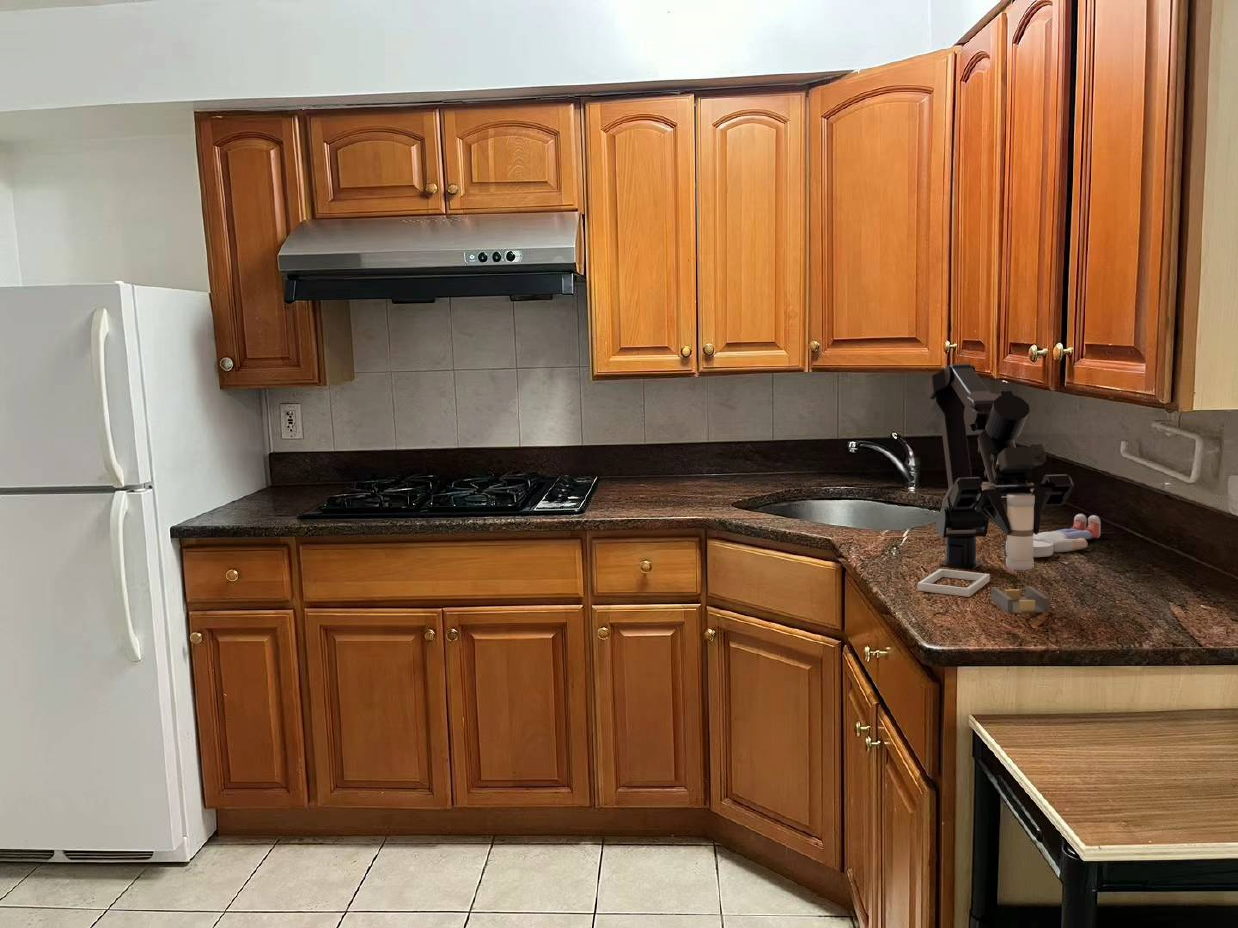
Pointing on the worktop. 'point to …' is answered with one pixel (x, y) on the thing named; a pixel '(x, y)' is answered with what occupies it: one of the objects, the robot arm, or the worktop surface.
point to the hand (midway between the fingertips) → (1023, 533)
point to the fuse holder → (1020, 600)
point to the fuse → (1020, 531)
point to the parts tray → (960, 591)
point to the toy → (1066, 537)
